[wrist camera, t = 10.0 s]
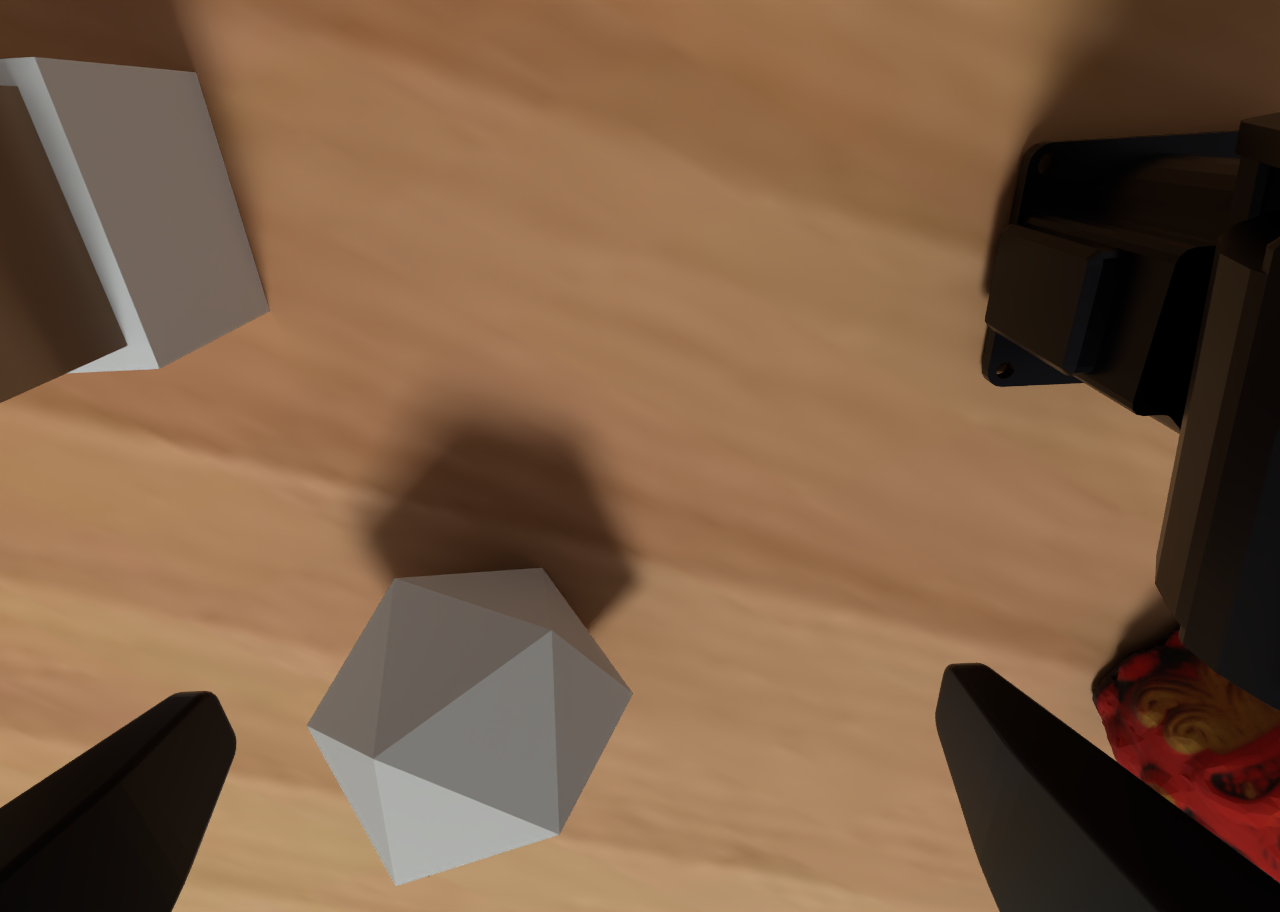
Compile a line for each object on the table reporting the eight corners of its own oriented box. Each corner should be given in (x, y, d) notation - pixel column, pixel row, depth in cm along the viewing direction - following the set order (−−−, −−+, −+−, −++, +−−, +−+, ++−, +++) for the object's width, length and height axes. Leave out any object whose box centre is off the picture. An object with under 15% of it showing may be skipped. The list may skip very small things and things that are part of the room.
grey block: (197, 72, 17) (34, 57, 12) (271, 310, 19) (159, 368, 15) (-36, 86, 17) (-282, 76, 12) (69, 320, 19) (-101, 380, 15)
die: (378, 493, 23) (184, 802, 18) (586, 516, 18) (396, 946, 13) (514, 599, 29) (395, 853, 24) (698, 638, 24) (595, 965, 19)
